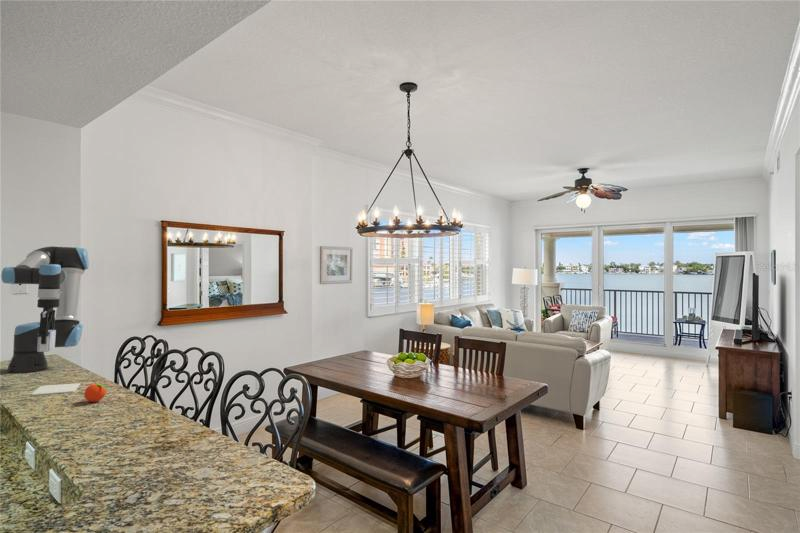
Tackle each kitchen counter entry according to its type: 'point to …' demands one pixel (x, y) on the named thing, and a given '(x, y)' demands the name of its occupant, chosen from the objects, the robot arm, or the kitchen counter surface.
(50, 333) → the medicine box
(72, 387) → the mat
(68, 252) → the robot arm
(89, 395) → the clementine
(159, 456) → the kitchen counter surface
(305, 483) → the kitchen counter surface
